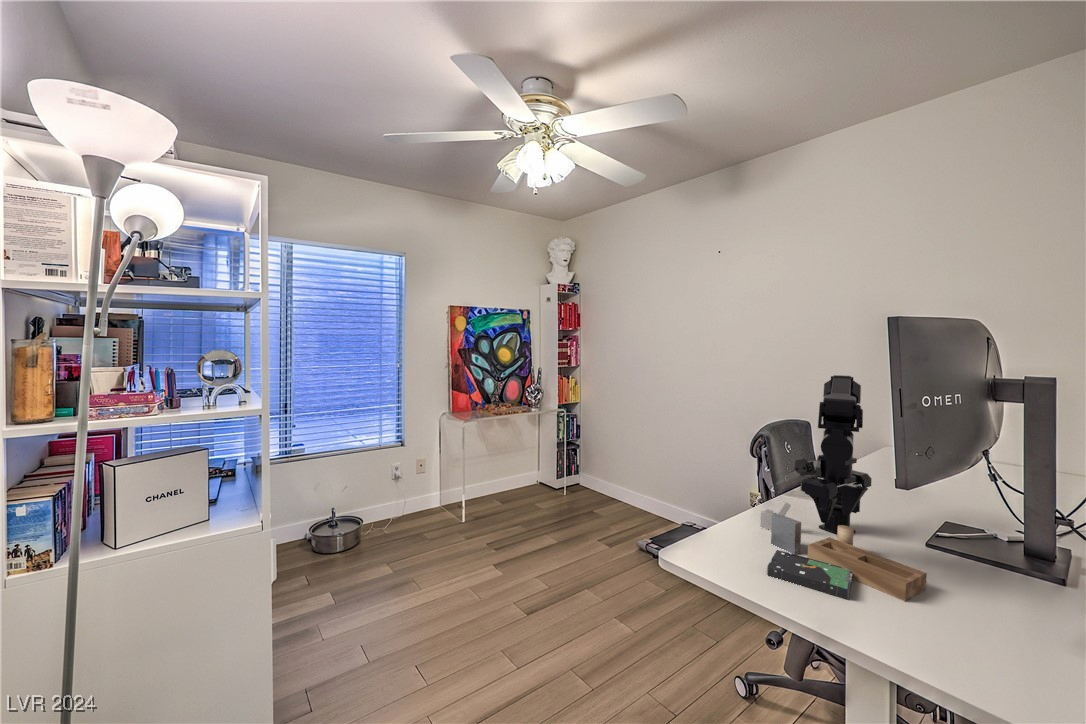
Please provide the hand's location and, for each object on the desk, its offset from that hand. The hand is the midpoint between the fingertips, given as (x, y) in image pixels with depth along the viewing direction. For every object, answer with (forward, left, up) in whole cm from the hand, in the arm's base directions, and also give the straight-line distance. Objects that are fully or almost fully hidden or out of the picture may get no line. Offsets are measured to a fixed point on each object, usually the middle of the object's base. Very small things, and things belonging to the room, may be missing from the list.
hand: (835, 519), depth 102 cm
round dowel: (-7, -1, -10) cm, 13 cm away
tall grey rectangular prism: (+4, -9, -10) cm, 14 cm away
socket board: (0, +6, -10) cm, 12 cm away
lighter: (-4, -17, -10) cm, 21 cm away
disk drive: (+12, +1, -11) cm, 16 cm away
